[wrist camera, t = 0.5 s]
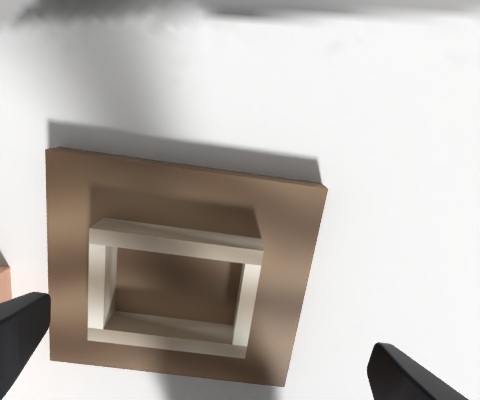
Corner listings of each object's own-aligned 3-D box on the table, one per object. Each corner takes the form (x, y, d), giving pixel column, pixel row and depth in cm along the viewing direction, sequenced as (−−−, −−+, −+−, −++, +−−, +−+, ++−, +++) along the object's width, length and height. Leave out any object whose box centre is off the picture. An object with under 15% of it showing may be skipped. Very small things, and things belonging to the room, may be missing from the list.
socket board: (281, 371, 26) (288, 410, 22) (61, 346, 25) (33, 382, 22) (322, 183, 21) (337, 196, 18) (58, 147, 21) (23, 153, 17)
